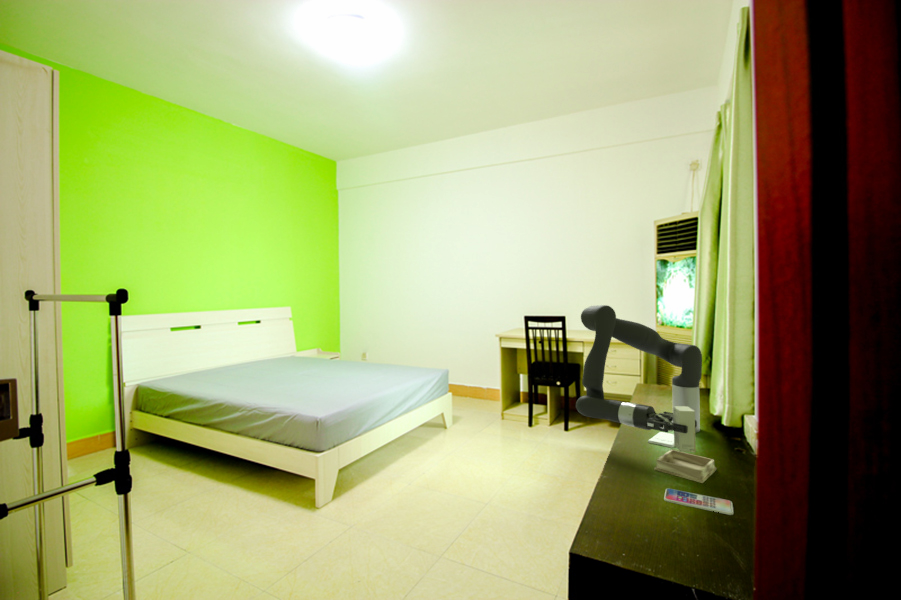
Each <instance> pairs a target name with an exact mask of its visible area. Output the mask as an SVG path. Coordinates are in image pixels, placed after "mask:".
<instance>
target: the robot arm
mask: <svg viewBox="0 0 901 600" xmlns="http://www.w3.org/2000/svg"><path fill="white" fill-rule="evenodd" d="M580 320H581V323H582V325H583V326H584V327H585V328H586V329H587V330H588V331H593V332H595V336H594V339H593V340H594V341H593V345H592V347H591V348H590V351H589V353H588V354H587V357H586V358H585V361H584V365H583V371H582V372H583V373H582V386H583V387H584V388H585V392H586V393H585V394H586V395H582V396H579V398H578V399H577V400H576V402H575V408H576V410H577V412H578V413H579V414H581V416H585V417H588V418H595V419H602V420H608V421H610V422H613V423H619V424H623V425H625V426H628V427H633V428H637V429H642V430H646V431H651V430H655V431H658V432H665V433H669V432H674V431H676V432H681V433H687V432H688V427H687V426H686V425H682V424H677V423H674V413H673V412H668V411H663V412H659V413H657V412H656V411H655V409H654V407H653V406H651V405H645V404H640V403H635V402H625V401H620V400H615V399H605V392H604V387H603V384H604V378H605V377H604V376H605V368H606V367H605V366H606V362H607V357H608V356H607V355H608V353H609V348H610V345H611V342H612V338H613V339H615V340H617V341H618V342H619V341H620V342H621V343H624V344H625V345H627V346H629V347H632V348H634V349H636V350H638V351H641V352H644V353H647V354H651V355H654V356H656V357H657V358H660V359H662V360H664V361H665V362H667V363H669V364H670V365H673V366H675V367H678V368H681V370H680V371H681V373H680V374H679V375H675V376H673V377H672V379H671V384H672V385H671V388H672V390H671V393H672V407H673V406H688V407H690V408H691V409H693V410H694V411H695V434H696V433H699V432H700V431H701V424H700V422H701V418H700V417H701V416H700V413H701V410H700V409H701V408H700V404H701V403H700V402H701V401H700V382H701V380H702V373H703V372H702V367H703V355H702V350H701V349H700V348H699V346H697V345H694V344H688V343H680V342H674V341H671V340H667V339H666V338H663V337H662V336H661V335H660V334H659V333H658V331H656V330H655V329H654V328H651V327H649V326H646V325H644V324H643V323H639V322H635V321H631V320H626V319H620V318H617V315H616V311H615V310H614V308H613V307H612V306H610V305H608V304H607V305H606V304H605V305H604V304H603V305H602V304H601V305H591V306H588V307H585V308H584V309H583V310H582V312H581V314H580Z"/></svg>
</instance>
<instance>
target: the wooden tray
mask: <svg viewBox="0 0 901 600" xmlns="http://www.w3.org/2000/svg"><path fill="white" fill-rule="evenodd" d="M653 469H654V471H657V472H661V473H665V474H668V475H672V476H676V477H678V478H679V477H680V478H682V479H686V480H689V481H692V482H693V481H694V482H697V483H699V484H700V483H701V484H703V483H704V482H705V481H707V479H709V478H710V477H711V476H712V475H713V474H714V473H715V472H716V471H717V469H718V468H717V466H715V459H714V458H708V457H705V456H701V455H696V454H692V453H690V452H683V451H680V450H675V449H669V450H668V451H667V452H665V453H663V454H662V455H661V456H659V457H657V458H656V466H655V467H654V468H653Z"/></svg>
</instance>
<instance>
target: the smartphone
mask: <svg viewBox="0 0 901 600" xmlns="http://www.w3.org/2000/svg"><path fill="white" fill-rule="evenodd" d="M664 491H665V492H664V497H663V500H664V501H665V502H666V503H671V504H672V503H673V504H677V505H681V506H685V507H690V508H691V507H692V508H694V509H699V510H700V509H701V510H705V511H710V512H713V511H714V512H715V513H718V512H719V514H724V515H728V516H733V515H734V505H733V501H731V500H729V499H724V498H720V497H716V496H715V497H714V496H709V495H704V494H701V493H700V494H699V493H694V492H688V491H684V490H679V489H673V488H666V489H665V490H664Z"/></svg>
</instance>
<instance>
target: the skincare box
mask: <svg viewBox="0 0 901 600" xmlns="http://www.w3.org/2000/svg"><path fill="white" fill-rule="evenodd" d="M672 413H674V423H677V424H682V425H686V426H687V427H688V432H687V433H681V432H676V431H673V434H674V445H675V448H676V449H677V450H678V451H681V452H685V453H696V451H697V449H696V447H697V446H696V444H697V443H696V442H697V441H696V433H695V411H694V410H693V409H691V408H690V407H688V406H673V405H672Z"/></svg>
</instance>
